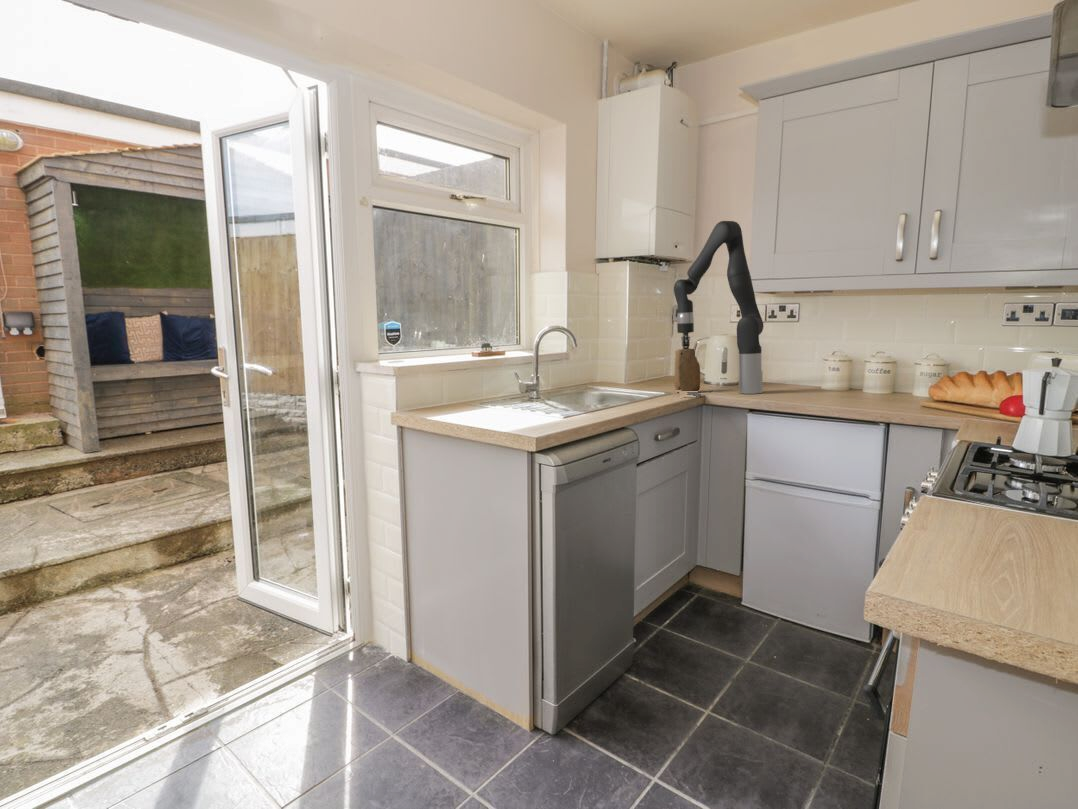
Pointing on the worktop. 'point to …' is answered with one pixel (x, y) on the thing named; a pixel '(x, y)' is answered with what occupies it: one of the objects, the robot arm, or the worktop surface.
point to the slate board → (694, 394)
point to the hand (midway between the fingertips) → (685, 359)
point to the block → (686, 370)
